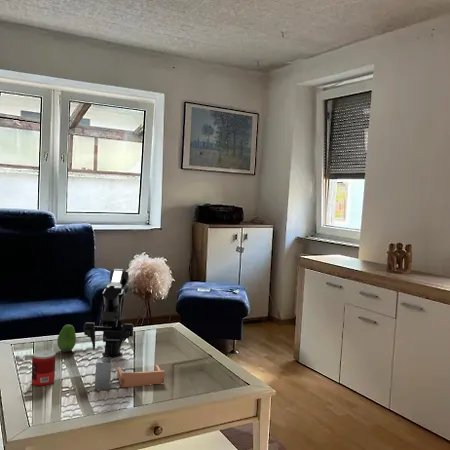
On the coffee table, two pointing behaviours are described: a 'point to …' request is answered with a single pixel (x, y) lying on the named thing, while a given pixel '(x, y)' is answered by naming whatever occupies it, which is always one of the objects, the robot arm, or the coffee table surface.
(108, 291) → the robot arm
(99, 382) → the block
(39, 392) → the coffee table surface
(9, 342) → the coffee table surface
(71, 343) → the fruit
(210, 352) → the coffee table surface
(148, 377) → the coupler dock
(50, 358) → the canned food
